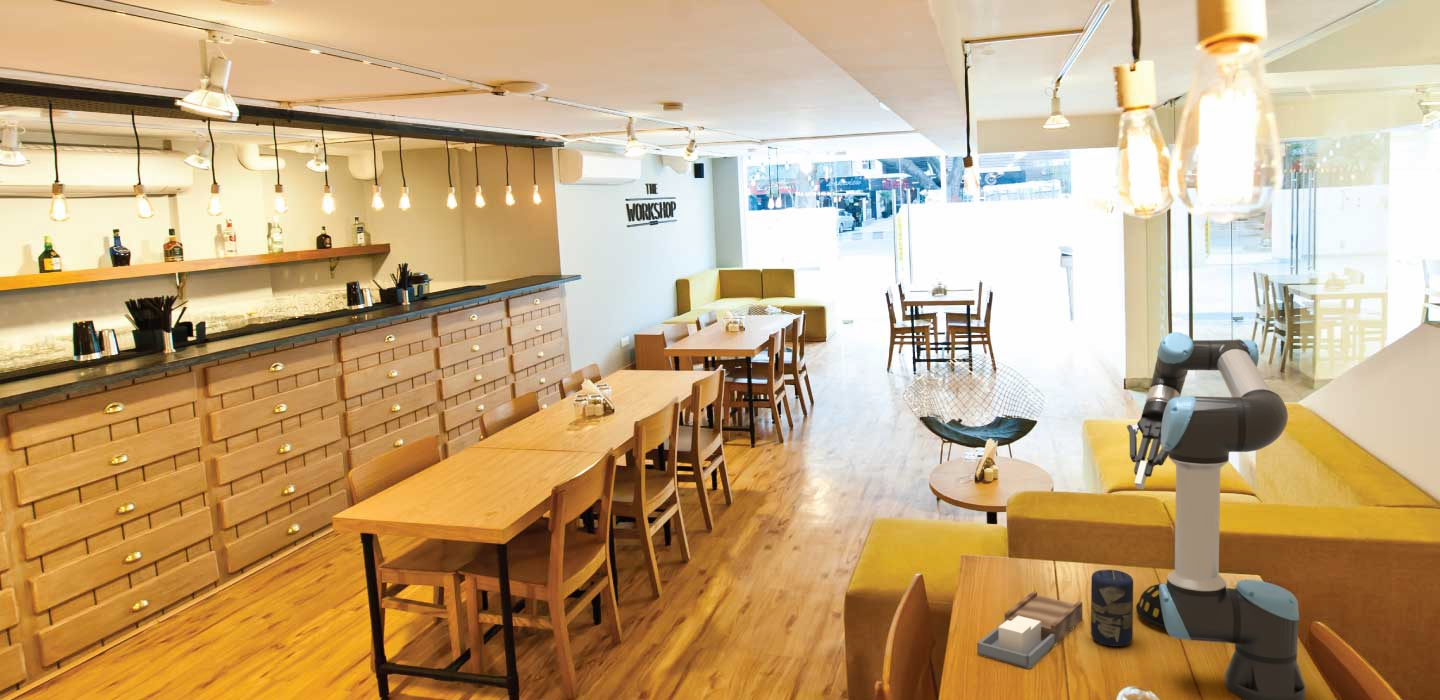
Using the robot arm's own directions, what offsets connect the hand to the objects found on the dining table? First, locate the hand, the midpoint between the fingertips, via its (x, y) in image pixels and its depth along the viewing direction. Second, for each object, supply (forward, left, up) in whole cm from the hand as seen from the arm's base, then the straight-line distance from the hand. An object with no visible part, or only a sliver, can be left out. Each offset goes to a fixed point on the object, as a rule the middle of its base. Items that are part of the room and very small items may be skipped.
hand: (1138, 486), depth 228 cm
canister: (-5, +7, -38) cm, 39 cm away
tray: (-12, +30, -38) cm, 50 cm away
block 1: (-11, +30, -34) cm, 47 cm away
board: (+2, +22, -38) cm, 44 cm away
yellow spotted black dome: (+8, -10, -38) cm, 41 cm away
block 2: (-8, +28, -37) cm, 48 cm away
